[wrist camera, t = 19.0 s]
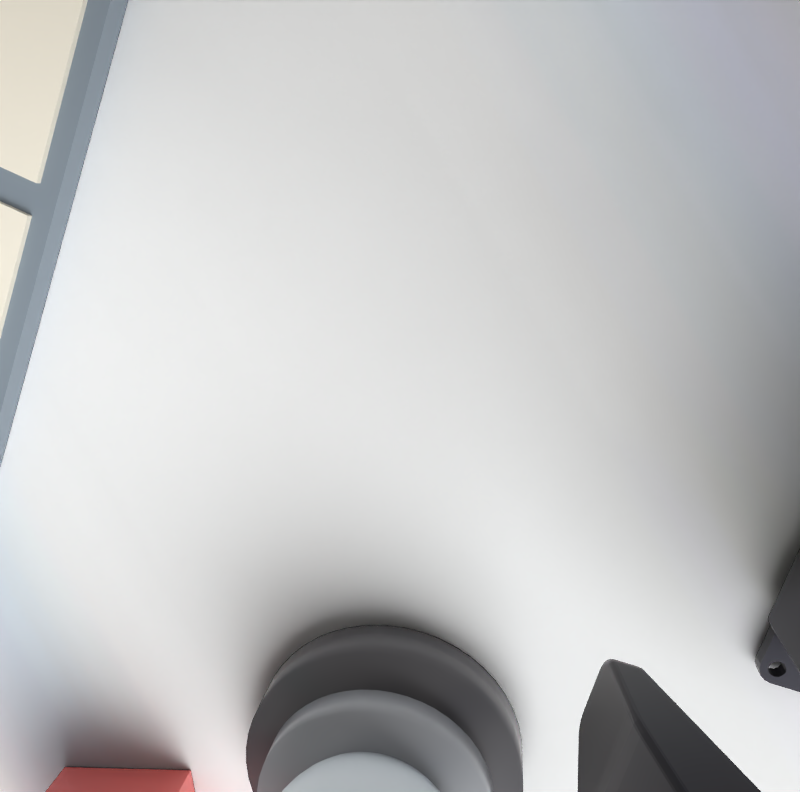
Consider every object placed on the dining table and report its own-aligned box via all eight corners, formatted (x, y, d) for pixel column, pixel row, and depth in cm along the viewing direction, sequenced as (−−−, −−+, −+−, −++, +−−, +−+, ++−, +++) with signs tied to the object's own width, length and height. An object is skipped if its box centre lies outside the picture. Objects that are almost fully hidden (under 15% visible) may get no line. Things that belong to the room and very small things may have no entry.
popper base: (557, 674, 23) (560, 705, 22) (479, 882, 26) (477, 922, 24) (289, 591, 24) (275, 616, 22) (239, 802, 26) (224, 837, 25)
